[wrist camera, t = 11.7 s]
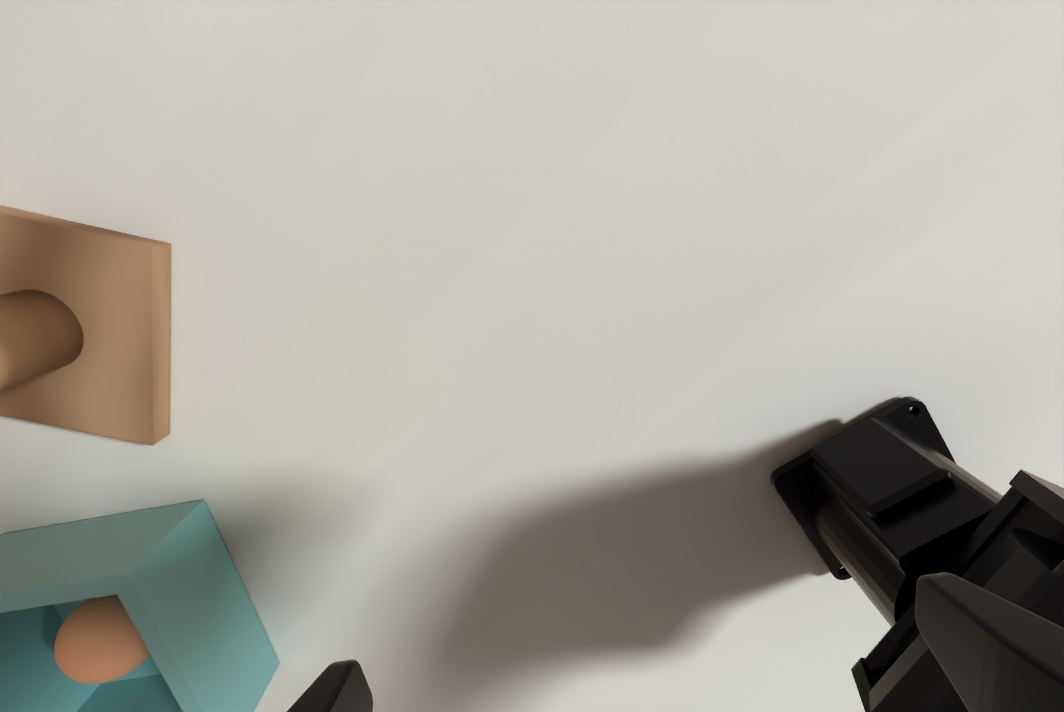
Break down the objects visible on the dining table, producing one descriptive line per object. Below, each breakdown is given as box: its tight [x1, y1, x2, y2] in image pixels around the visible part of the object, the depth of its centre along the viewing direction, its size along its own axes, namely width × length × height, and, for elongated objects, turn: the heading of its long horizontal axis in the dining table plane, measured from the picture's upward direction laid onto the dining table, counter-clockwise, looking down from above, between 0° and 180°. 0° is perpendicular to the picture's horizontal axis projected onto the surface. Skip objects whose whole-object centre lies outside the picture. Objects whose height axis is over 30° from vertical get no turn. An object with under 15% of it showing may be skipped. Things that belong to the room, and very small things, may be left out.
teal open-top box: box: [0, 499, 279, 712], centre depth 23 cm, size 10×10×4 cm
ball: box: [54, 594, 150, 684], centre depth 22 cm, size 4×4×4 cm
